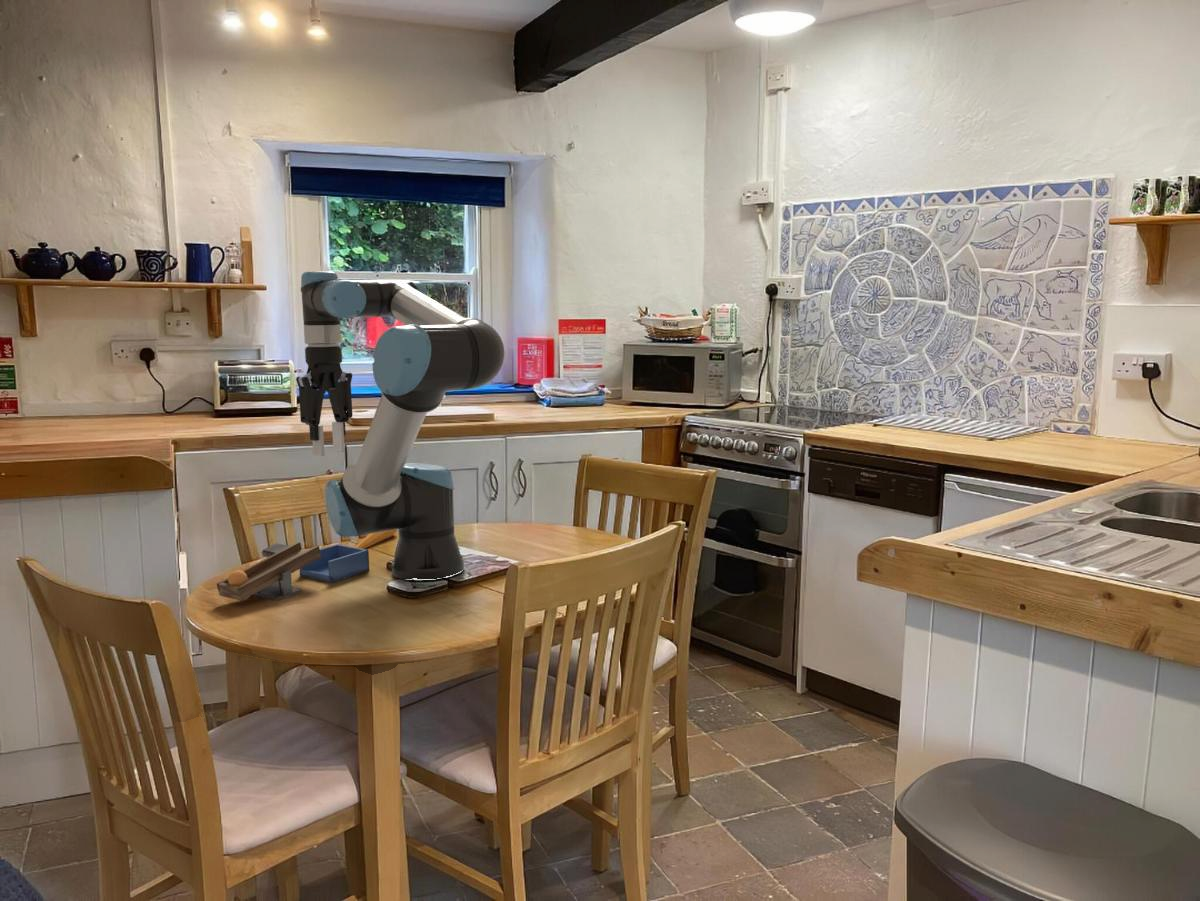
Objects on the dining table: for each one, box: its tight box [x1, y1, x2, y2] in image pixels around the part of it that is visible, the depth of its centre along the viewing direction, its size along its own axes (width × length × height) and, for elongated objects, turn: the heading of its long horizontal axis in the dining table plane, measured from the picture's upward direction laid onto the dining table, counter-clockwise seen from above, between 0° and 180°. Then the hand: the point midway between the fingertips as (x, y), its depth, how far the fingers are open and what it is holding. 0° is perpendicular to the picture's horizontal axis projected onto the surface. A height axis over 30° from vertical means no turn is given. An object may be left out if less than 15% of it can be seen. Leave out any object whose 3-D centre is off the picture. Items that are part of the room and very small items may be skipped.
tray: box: [299, 543, 370, 584], centre depth 201 cm, size 10×11×4 cm
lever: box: [216, 541, 321, 602], centre depth 189 cm, size 14×20×2 cm
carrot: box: [355, 529, 397, 549], centre depth 225 cm, size 20×4×4 cm, turn 164°
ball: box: [227, 569, 248, 586], centre depth 181 cm, size 4×4×4 cm
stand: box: [252, 571, 302, 602], centre depth 188 cm, size 10×6×5 cm, turn 57°
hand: (329, 453), depth 205 cm, fingers open, 5 cm apart
